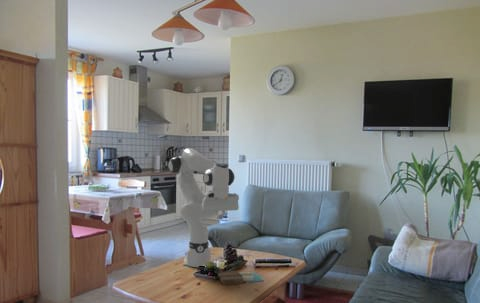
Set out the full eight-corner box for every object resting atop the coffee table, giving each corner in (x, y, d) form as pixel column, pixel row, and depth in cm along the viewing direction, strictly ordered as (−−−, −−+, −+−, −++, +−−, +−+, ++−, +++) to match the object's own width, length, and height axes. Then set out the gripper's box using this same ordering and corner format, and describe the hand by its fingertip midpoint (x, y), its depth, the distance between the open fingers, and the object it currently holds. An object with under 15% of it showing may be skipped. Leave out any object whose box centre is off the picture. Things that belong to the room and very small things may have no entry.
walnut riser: (217, 276, 214) (217, 271, 214) (236, 274, 217) (236, 270, 217) (223, 285, 201) (223, 280, 201) (243, 283, 204) (243, 279, 204)
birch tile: (238, 275, 215) (238, 272, 215) (248, 274, 216) (249, 271, 216) (243, 281, 206) (243, 277, 206) (253, 280, 208) (253, 276, 208)
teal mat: (240, 274, 217) (240, 274, 217) (256, 273, 220) (256, 273, 220) (246, 282, 206) (246, 281, 206) (263, 281, 208) (263, 280, 208)
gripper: (237, 192, 213) (236, 217, 213) (201, 193, 207) (200, 218, 207) (240, 194, 206) (239, 219, 207) (203, 194, 201) (202, 220, 201)
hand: (220, 218), depth 207 cm, fingers closed
